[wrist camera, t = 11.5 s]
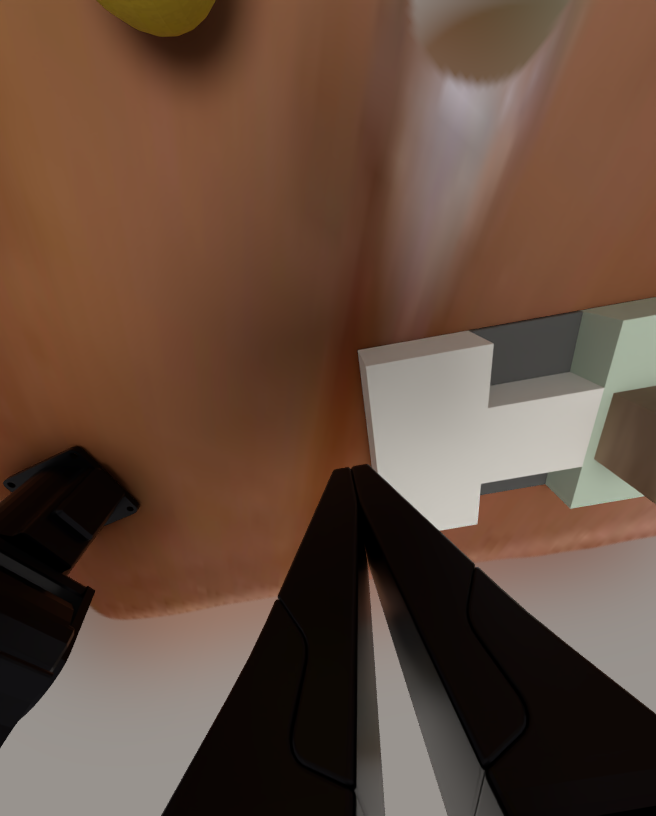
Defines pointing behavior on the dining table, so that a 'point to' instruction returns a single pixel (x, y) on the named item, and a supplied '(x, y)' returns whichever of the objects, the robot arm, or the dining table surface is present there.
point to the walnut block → (631, 439)
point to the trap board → (505, 408)
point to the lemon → (160, 14)
